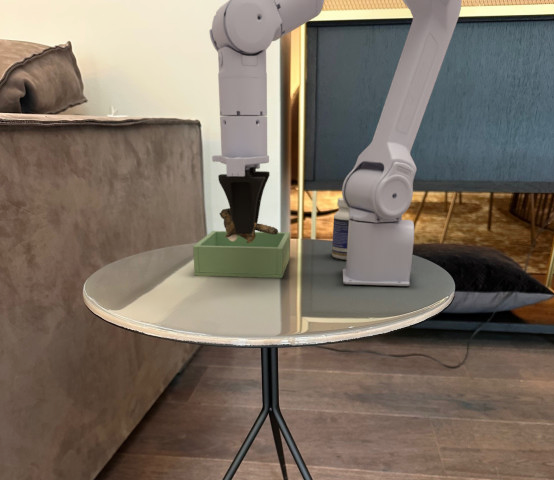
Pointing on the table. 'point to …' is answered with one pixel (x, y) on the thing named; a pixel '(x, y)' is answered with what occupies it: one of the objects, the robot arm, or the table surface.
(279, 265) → the basket
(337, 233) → the pill bottle
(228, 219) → the cat figurine
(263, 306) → the table surface
